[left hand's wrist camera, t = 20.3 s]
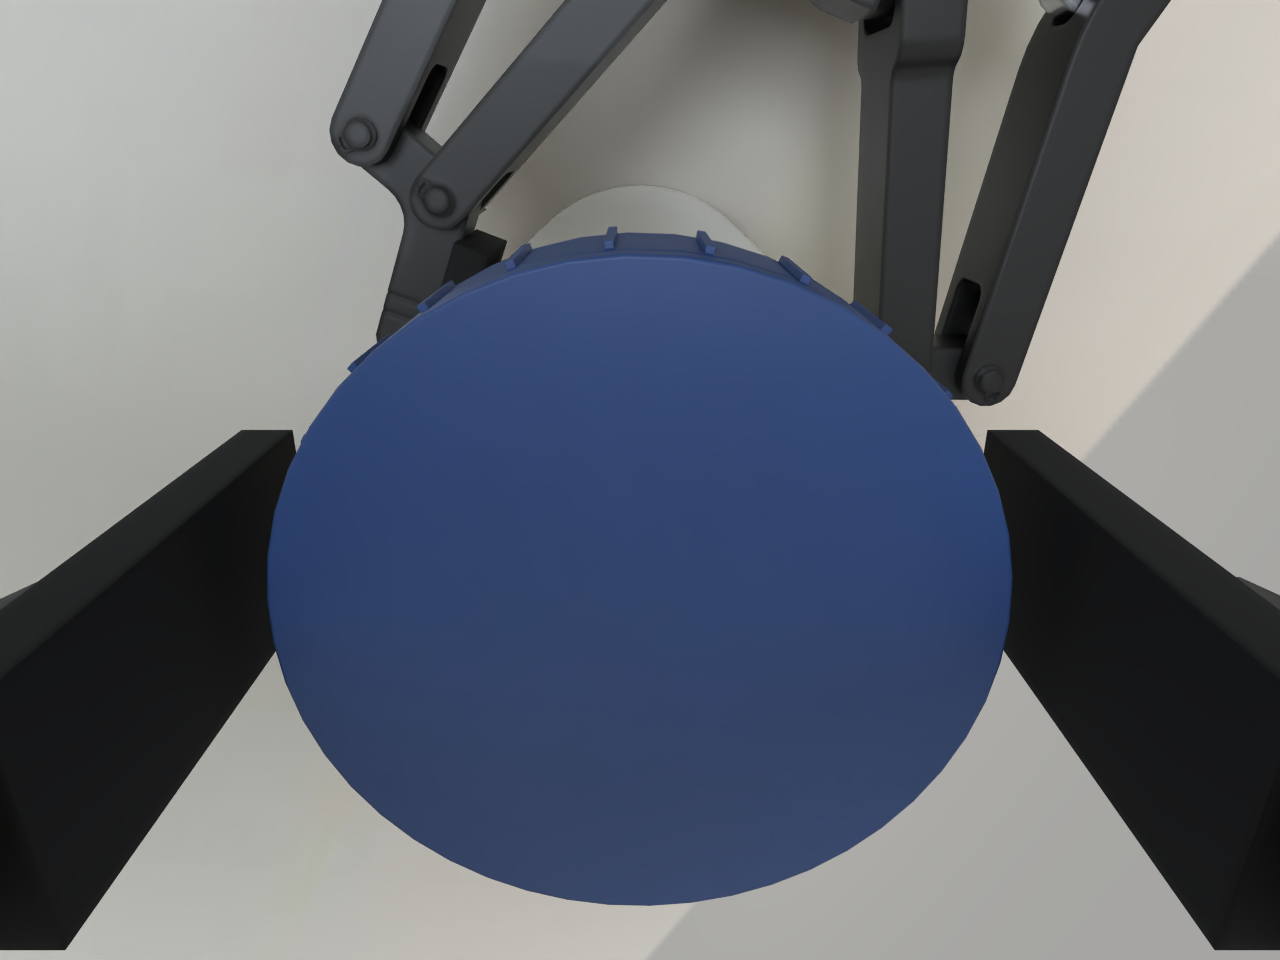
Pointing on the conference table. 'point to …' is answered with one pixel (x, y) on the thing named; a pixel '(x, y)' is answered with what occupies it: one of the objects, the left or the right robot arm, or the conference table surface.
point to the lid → (639, 572)
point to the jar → (640, 217)
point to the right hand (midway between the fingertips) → (573, 550)
